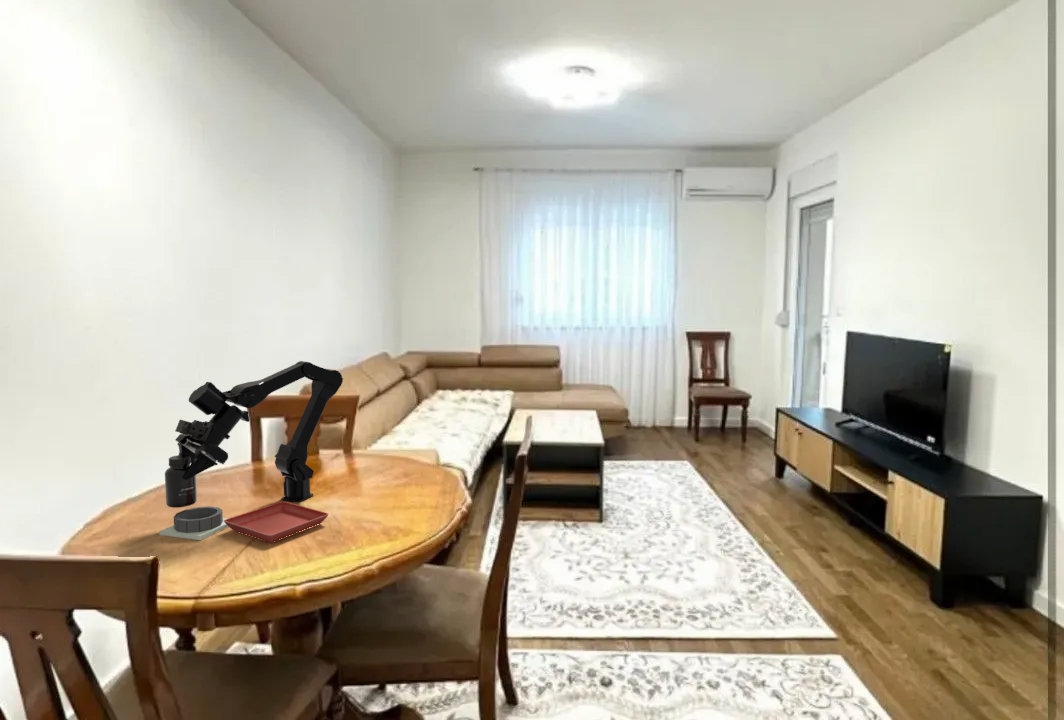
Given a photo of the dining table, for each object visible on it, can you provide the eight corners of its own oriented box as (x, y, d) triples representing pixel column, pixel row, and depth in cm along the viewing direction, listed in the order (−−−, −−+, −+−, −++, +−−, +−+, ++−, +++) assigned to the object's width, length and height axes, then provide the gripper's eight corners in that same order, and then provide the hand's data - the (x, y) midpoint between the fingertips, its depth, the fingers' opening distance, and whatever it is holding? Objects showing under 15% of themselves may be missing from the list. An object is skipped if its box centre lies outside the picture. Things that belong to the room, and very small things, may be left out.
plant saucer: (330, 525, 166) (330, 512, 166) (270, 548, 151) (269, 534, 150) (283, 512, 175) (283, 500, 175) (222, 533, 160) (221, 520, 160)
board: (236, 523, 166) (236, 519, 166) (200, 540, 154) (200, 536, 154) (197, 518, 169) (197, 514, 169) (159, 534, 158) (159, 530, 158)
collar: (231, 520, 165) (231, 508, 165) (200, 534, 155) (199, 522, 155) (197, 516, 168) (197, 504, 168) (164, 530, 158) (164, 518, 158)
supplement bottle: (188, 508, 159) (185, 461, 158) (160, 508, 159) (157, 460, 158) (202, 499, 166) (199, 453, 165) (176, 499, 166) (173, 453, 165)
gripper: (181, 403, 170) (137, 452, 163) (212, 411, 158) (166, 465, 151) (213, 427, 176) (173, 475, 169) (246, 437, 164) (203, 490, 157)
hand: (178, 476), depth 162 cm, fingers closed on supplement bottle, 7 cm apart
